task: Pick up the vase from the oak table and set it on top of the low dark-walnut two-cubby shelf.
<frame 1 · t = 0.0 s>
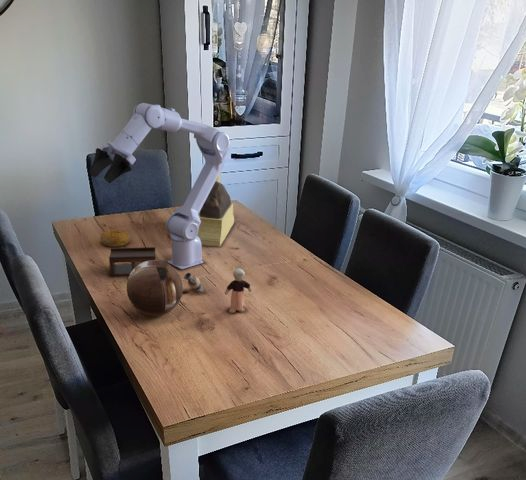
hand: (99, 177, 156), 32 cm above the table, tool tilted 50°, fingers open, 7 cm apart
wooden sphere: (156, 313, 159), on the table
bagel: (116, 243, 203), on the table
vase: (193, 291, 171), on the table
shelf: (134, 270, 183), on the table
grandmother figurine: (238, 310, 162), on the table
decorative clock: (210, 232, 217), on the table
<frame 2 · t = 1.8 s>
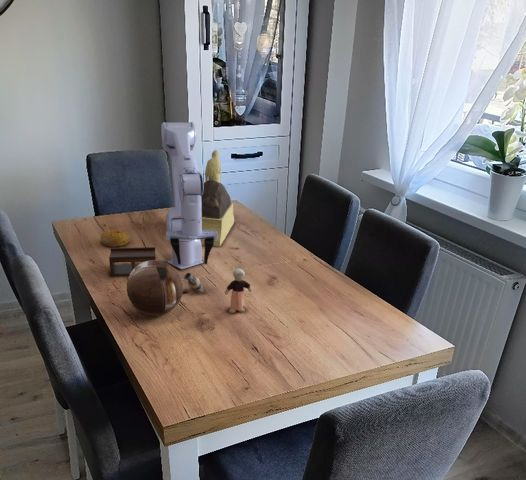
hand: (192, 262, 167), 9 cm above the table, tool pointing down, fingers open, 7 cm apart
nothing on the table moved.
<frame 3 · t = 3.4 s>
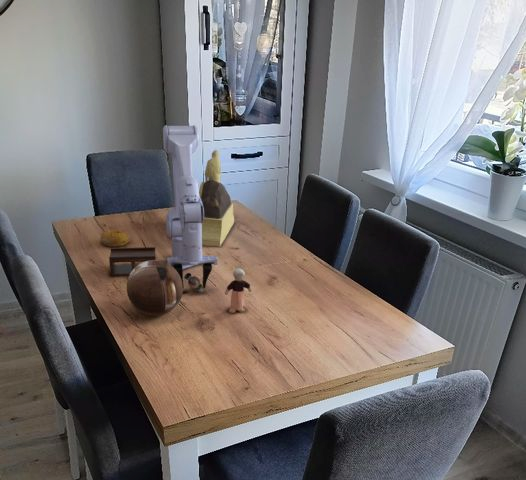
hand: (193, 286, 171), 1 cm above the table, tool pointing down, fingers closed on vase, 6 cm apart
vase: (193, 291, 171), on the table, touching gripper
everything else where it was.
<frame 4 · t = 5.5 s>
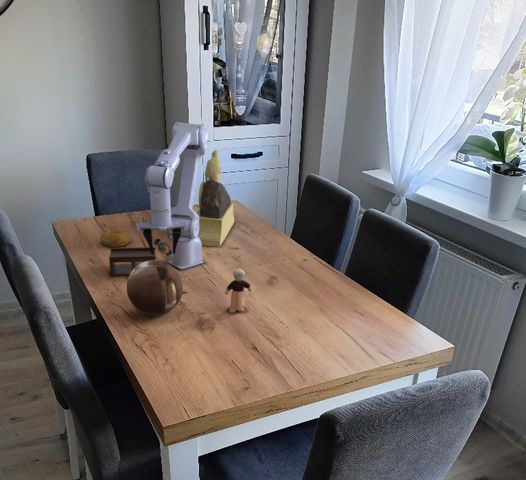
hand: (163, 252, 172), 9 cm above the table, tool pointing down, fingers closed on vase, 6 cm apart
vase: (163, 257, 173), point 8 cm above the table, touching gripper
everything else where it was.
when the fingers open (7 cm above the table, at t = 7.7 s): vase stays where it is, resting on shelf.
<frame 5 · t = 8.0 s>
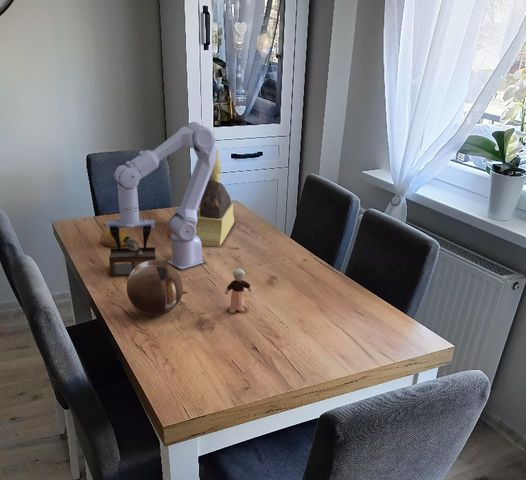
hand: (132, 249, 179), 7 cm above the table, tool pointing down, fingers open, 7 cm apart
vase: (132, 255, 180), point 5 cm above the table, touching shelf
everything else where it was.
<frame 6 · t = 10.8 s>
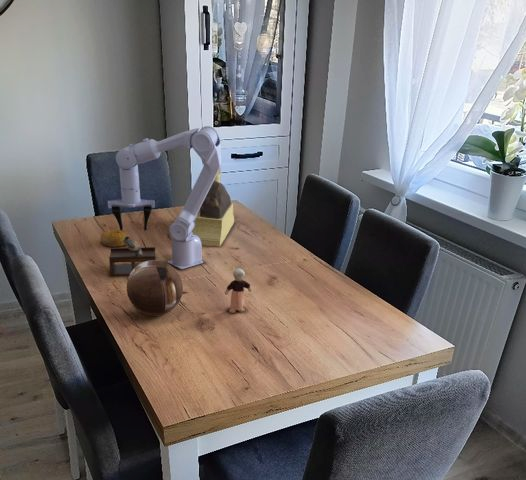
hand: (133, 229, 186), 10 cm above the table, tool pointing down, fingers open, 7 cm apart
nothing on the table moved.
at the end: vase inside the target area on the shelf (0.1 cm from its centre), point 5.4 cm above the shelf's base; the gripper is holding nothing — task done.
